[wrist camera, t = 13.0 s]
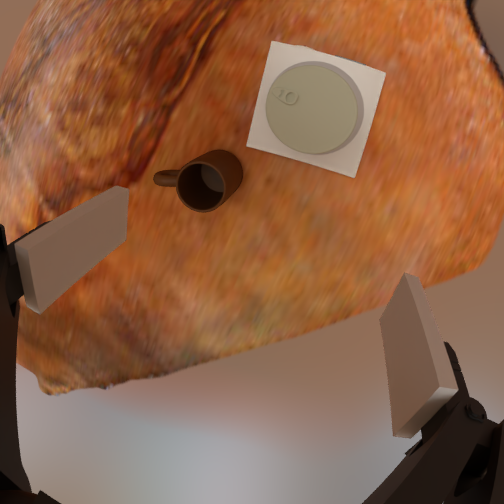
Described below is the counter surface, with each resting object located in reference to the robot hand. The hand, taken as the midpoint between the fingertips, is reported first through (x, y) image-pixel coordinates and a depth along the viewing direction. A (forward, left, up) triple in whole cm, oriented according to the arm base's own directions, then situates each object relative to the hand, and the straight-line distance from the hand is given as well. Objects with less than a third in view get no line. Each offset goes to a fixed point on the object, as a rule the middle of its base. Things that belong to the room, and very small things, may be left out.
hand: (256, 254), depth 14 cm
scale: (-6, 0, -37) cm, 37 cm away
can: (-6, 0, -32) cm, 32 cm away
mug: (+8, -14, -37) cm, 40 cm away
